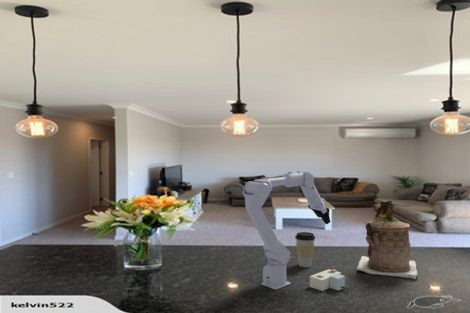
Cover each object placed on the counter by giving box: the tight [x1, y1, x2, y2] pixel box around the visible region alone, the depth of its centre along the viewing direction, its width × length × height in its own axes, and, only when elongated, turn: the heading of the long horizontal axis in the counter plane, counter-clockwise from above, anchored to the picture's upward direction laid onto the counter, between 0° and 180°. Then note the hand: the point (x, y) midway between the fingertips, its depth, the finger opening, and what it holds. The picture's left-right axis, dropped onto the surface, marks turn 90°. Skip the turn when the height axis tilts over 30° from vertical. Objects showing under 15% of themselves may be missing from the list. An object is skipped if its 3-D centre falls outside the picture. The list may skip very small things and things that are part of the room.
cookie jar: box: [356, 199, 418, 280], centre depth 168 cm, size 25×25×32 cm
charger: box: [329, 274, 350, 292], centre depth 144 cm, size 9×4×5 cm, turn 41°
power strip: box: [309, 268, 343, 292], centre depth 150 cm, size 6×18×5 cm, turn 131°
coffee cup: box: [294, 231, 316, 268], centre depth 173 cm, size 9×9×15 cm
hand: (324, 219), depth 163 cm, fingers open, 7 cm apart
